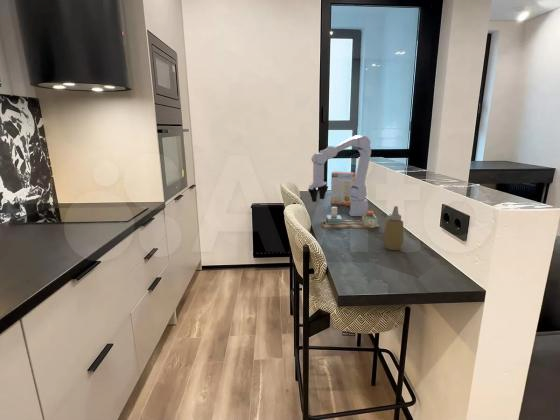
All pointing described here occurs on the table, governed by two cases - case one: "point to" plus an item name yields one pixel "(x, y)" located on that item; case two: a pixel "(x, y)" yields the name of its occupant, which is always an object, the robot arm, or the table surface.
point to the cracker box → (341, 187)
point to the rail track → (348, 224)
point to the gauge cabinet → (369, 220)
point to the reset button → (369, 213)
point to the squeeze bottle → (394, 231)
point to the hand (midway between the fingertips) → (318, 200)
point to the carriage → (334, 217)
